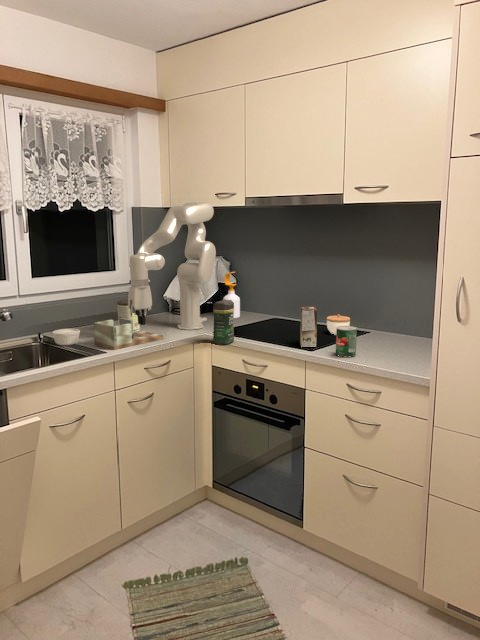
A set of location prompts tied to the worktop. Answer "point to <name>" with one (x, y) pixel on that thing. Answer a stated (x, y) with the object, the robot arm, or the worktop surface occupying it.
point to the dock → (120, 335)
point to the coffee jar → (223, 322)
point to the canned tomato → (346, 340)
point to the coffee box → (308, 326)
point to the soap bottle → (232, 296)
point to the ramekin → (66, 336)
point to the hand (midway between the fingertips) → (141, 324)
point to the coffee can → (127, 314)
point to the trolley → (127, 321)
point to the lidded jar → (337, 322)
